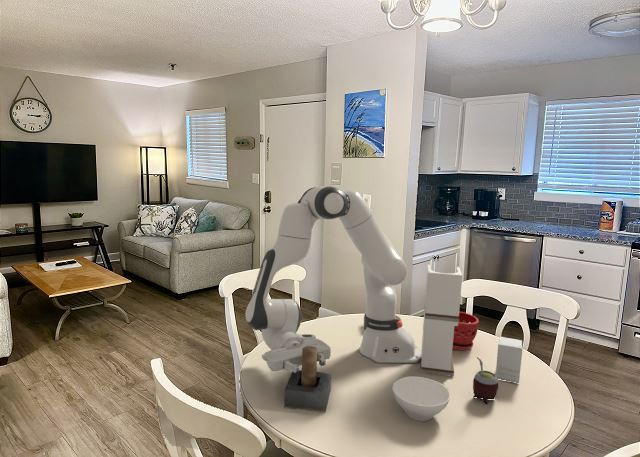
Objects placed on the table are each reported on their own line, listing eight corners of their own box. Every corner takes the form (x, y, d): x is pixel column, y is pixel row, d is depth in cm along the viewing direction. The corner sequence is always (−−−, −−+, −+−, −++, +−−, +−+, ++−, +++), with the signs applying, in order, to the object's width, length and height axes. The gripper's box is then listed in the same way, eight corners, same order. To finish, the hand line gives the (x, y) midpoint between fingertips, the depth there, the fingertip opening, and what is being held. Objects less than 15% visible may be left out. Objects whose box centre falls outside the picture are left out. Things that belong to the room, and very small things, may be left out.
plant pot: (452, 354, 162) (454, 323, 160) (435, 339, 174) (437, 311, 172) (483, 351, 165) (486, 321, 163) (464, 337, 177) (466, 309, 175)
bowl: (412, 436, 113) (414, 411, 112) (380, 403, 127) (381, 381, 126) (460, 422, 119) (462, 399, 118) (424, 393, 134) (426, 372, 133)
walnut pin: (316, 393, 131) (318, 346, 128) (314, 401, 126) (315, 353, 124) (302, 392, 131) (303, 345, 129) (299, 399, 127) (300, 351, 125)
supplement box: (519, 375, 147) (522, 340, 145) (518, 385, 141) (522, 348, 139) (495, 370, 150) (499, 335, 148) (494, 379, 144) (498, 343, 142)
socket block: (330, 390, 134) (331, 373, 133) (325, 412, 122) (326, 394, 121) (292, 386, 136) (293, 369, 135) (284, 407, 124) (284, 389, 123)
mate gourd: (494, 394, 134) (498, 349, 132) (499, 408, 127) (504, 360, 124) (469, 391, 136) (473, 346, 133) (472, 405, 128) (476, 357, 126)
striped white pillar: (453, 376, 145) (462, 275, 139) (421, 372, 147) (428, 272, 141) (451, 361, 156) (459, 267, 150) (421, 357, 158) (427, 264, 152)
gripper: (259, 345, 133) (278, 364, 121) (317, 333, 143) (340, 349, 131) (259, 364, 134) (277, 384, 122) (317, 351, 144) (339, 369, 132)
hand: (310, 366), depth 126 cm, fingers open, 8 cm apart
